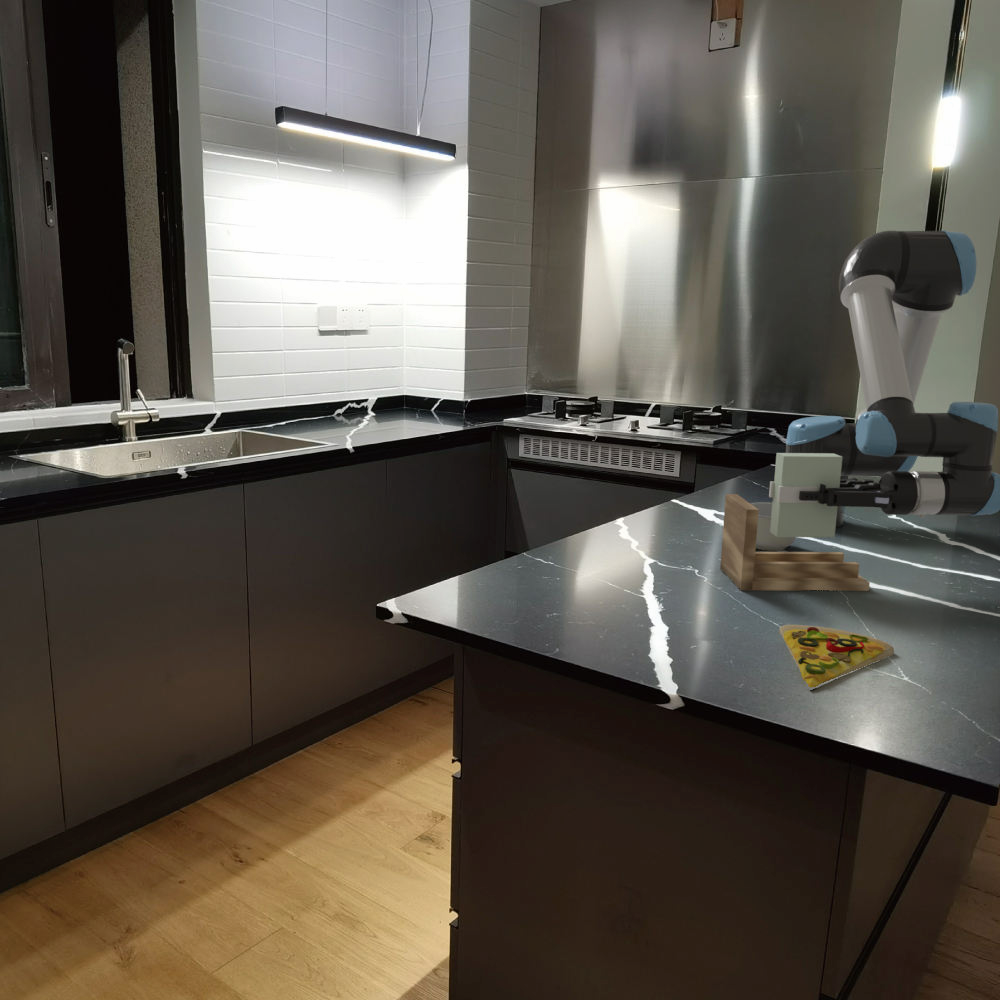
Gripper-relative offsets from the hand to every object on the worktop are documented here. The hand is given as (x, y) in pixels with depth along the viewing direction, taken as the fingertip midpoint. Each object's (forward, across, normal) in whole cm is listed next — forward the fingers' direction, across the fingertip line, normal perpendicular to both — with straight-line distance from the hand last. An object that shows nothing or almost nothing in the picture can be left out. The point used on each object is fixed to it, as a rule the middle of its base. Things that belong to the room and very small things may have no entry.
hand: (774, 491), depth 148 cm
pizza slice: (+4, -36, -17) cm, 40 cm away
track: (-5, 0, -16) cm, 16 cm away
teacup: (-6, +22, -16) cm, 28 cm away
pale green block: (-5, 0, -8) cm, 9 cm away
